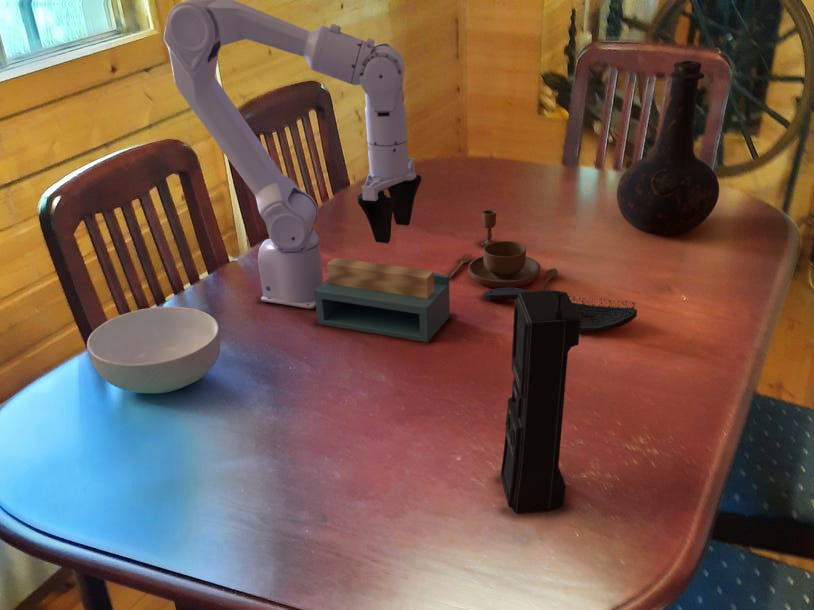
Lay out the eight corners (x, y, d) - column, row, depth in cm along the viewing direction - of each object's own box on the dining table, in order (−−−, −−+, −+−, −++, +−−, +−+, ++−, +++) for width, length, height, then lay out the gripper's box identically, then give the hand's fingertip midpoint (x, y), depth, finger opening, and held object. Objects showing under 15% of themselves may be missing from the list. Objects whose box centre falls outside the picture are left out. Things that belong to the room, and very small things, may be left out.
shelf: (317, 324, 130) (313, 282, 126) (344, 300, 136) (340, 260, 132) (427, 342, 124) (426, 299, 120) (449, 316, 131) (449, 275, 127)
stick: (328, 284, 128) (326, 263, 126) (336, 277, 130) (334, 257, 128) (427, 298, 123) (427, 277, 121) (434, 291, 125) (434, 271, 123)
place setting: (440, 283, 141) (439, 248, 137) (481, 240, 155) (481, 208, 152) (543, 298, 135) (545, 262, 132) (575, 252, 150) (578, 219, 146)
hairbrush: (497, 270, 137) (646, 296, 125) (497, 292, 139) (644, 319, 127) (470, 289, 132) (624, 318, 120) (471, 312, 134) (622, 342, 122)
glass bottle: (603, 238, 155) (620, 70, 138) (625, 206, 168) (643, 49, 151) (704, 250, 149) (734, 77, 133) (718, 216, 162) (747, 54, 146)
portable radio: (498, 472, 98) (504, 264, 83) (549, 468, 98) (565, 261, 83) (508, 515, 92) (517, 299, 77) (564, 511, 92) (583, 295, 77)
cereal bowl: (112, 424, 108) (98, 375, 104) (89, 368, 120) (76, 322, 116) (242, 390, 114) (234, 343, 110) (208, 340, 126) (199, 295, 122)
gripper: (392, 157, 116) (397, 253, 124) (431, 129, 127) (434, 219, 135) (345, 153, 118) (354, 247, 126) (388, 126, 129) (393, 215, 137)
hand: (392, 233), depth 131 cm, fingers open, 7 cm apart
